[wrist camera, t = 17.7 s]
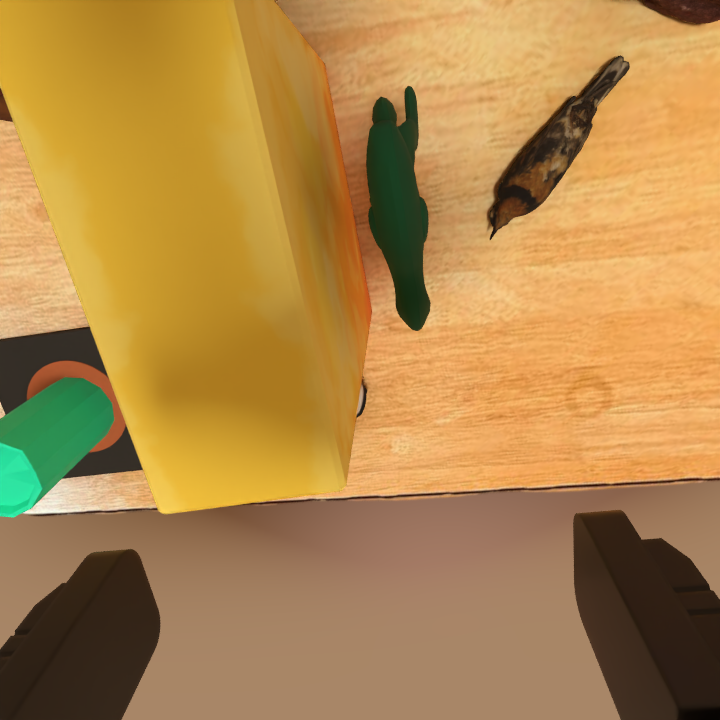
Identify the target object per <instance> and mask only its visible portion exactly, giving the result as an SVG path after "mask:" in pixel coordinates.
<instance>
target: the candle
mask: <svg viewBox="0 0 720 720" xmlns="http://www.w3.org/2000/svg"><path fill="white" fill-rule="evenodd" d="M113 422H114V414H113V407H112V403H111V401H110V400H109V398H108V397H107V396H106V394H105V393H104V392H103V390H102V389H101V388H100V387H98V386H96V385H95V384H93V383H91V382H89V381H87V380H86V379H84V378H70V377H64V378H62V379H60V380H59V381H57V382H55V383H53V384H51V385H50V386H48V387H47V388H45V389H44V390H42V391H41V392H39V393H38V394H36V395H35V396H33V397H32V398H30V399H29V400H27V401H26V402H24V403H23V404H21V405H20V406H18V407H17V408H16V409H14V410H13V411H11V412H10V413H8V414H7V415H5V416H4V417H2V418H1V419H0V516H4V517H15V516H17V515H19V514H21V513H23V512H25V511H27V510H29V509H31V508H32V507H33V506H34V505H35V504H36V503H37V502H38V501H39V500H40V499H41V498H42V497H43V496H44V495H45V494H46V493H47V492H49V491H50V490H51V489H52V488H53V487H54V486H55V485H56V484H57V483H58V482H59V481H60V480H61V479H62V478H63V477H64V476H65V475H66V474H67V473H68V472H69V471H70V470H71V469H72V468H73V467H74V466H75V465H76V464H77V463H78V462H79V461H80V460H81V459H82V458H83V457H84V456H85V455H86V454H87V453H88V452H89V451H90V450H91V449H92V448H94V447H95V446H96V445H97V444H98V443H99V442H100V441H101V440H102V439H103V438H104V437H105V436H106V435H107V434H108V432H109V430H110V428H111V426H112V424H113Z"/></svg>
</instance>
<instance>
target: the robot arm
mask: <svg viewBox="0 0 720 720" xmlns="http://www.w3.org/2000/svg"><path fill="white" fill-rule="evenodd" d="M573 528H574V530H573V531H574V586H575V595H576V601H577V605H578V609H579V613H580V617H581V620H582V623H583V625H584V628H585V630H586V633H587V636H588V638H589V640H590V643H591V645H592V648H593V650H594V653H595V656H596V658H597V661H598V663H599V666H600V668H601V671H602V673H603V676H604V678H605V681H606V683H607V686H608V688H609V691H610V693H611V696H612V698H613V701H614V703H615V706H616V708H617V711H618V714H619V716H620V719H621V720H720V599H719V598H718V597H717V595H716V594H715V592H714V591H711V590H710V587H709V584H708V583H707V581H706V580H705V579H704V578H703V576H702V575H701V573H700V572H699V570H698V569H697V568H696V566H695V565H694V563H693V562H692V561H691V559H690V558H688V557H687V556H685V555H684V554H682V553H681V552H680V551H678V550H677V549H676V548H674V547H673V546H671V545H670V544H668V543H667V542H666V541H664V540H663V539H662V538H659V539H647V540H641V538H640V536H639V535H638V533H637V532H636V530H635V528H634V527H633V525H632V524H631V522H630V521H629V519H628V518H627V516H626V514H625V513H624V512H623V511H621V510H612V511H601V512H590V513H578V514H577V513H576V514H575V516H574V522H573ZM159 633H160V615H159V610H158V608H157V605H156V602H155V599H154V596H153V593H152V590H151V587H150V584H149V582H148V579H147V576H146V573H145V570H144V567H143V564H142V561H141V559H140V556H139V555H138V553H137V552H136V551H134V550H132V549H128V550H117V551H104V552H94V553H91V554H89V555H88V556H87V557H86V558H85V559H84V560H83V562H82V563H81V564H80V566H79V567H78V568H77V570H76V571H75V572H74V574H73V575H72V576H71V577H70V579H69V580H68V581H67V583H62V584H61V585H60V586H58V587H57V588H56V589H55V590H53V591H52V592H51V593H50V594H48V596H46V597H45V598H44V599H42V600H41V601H40V602H39V603H37V604H36V605H35V606H34V607H33V609H32V610H31V611H30V612H29V614H28V615H27V616H26V618H25V619H24V620H23V621H22V623H21V624H20V625H19V626H18V628H17V629H16V630H15V635H14V636H10V638H9V639H8V640H7V642H6V643H5V644H4V646H3V647H2V648H1V649H0V720H121V719H122V717H123V715H124V713H125V711H126V709H127V707H128V705H129V703H130V700H131V699H132V696H133V694H134V692H135V690H136V688H137V686H138V684H139V682H140V680H141V678H142V676H143V674H144V671H145V669H146V667H147V665H148V663H149V661H150V659H151V657H152V654H153V653H154V650H155V648H156V646H157V643H158V639H159Z"/></svg>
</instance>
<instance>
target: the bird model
mask: <svg viewBox="0 0 720 720" xmlns="http://www.w3.org/2000/svg"><path fill="white" fill-rule="evenodd" d="M629 67H630V66H629V62H626V61H624V58H623V57H622V56H621V55H620V56H618V57H616V58H615V59H614V60H613V61H612V62H611V63H610V64H609V65H608V66H607V68H606V69H605V70H604V71H603V72H602V73H601V74H600V75H599V76H598V77H597V78H596V79H595V80H594V82H593V83H592V84H591V85H590V86H589V87H588V88H587V89H586V90H585V91H584V93H583V94H582V96H581V97H580V98H578V99H577V100H576V101H575V99H576V96H573V97H572V98H571V99H570V100H569V102H568V103H567V104H566V106H565V107H564V108H563V109H562V110H561V112H560V113H559V114H558V115H557V116H556V117H555V118H554V119H553V120H552V121H551V122H550V123H549V124H548V126H547V127H546V128H545V129H544V130H543V131H542V132H541V133H540V134H539V135H538V136H537V137H536V138H535V139H534V140H533V141H532V143H531V144H530V145H529V146H528V147H527V148H526V149H525V150H524V152H523V153H522V154H521V155H520V156H519V157H518V159H517V160H516V161H515V162H514V164H513V165H512V167H511V168H510V170H509V171H508V173H507V174H506V176H505V177H504V179H503V181H502V182H501V183H500V185H499V187H498V198H499V201H498V202H497V203H496V204H495V205H494V207H493V209H492V210H491V211H490V215H489V218H490V222H491V224H492V226H493V231H492V234H491V236H490V240H491V239H492V237H493V235H494V234H495V233H496V232H497V230H498V229H500V228H502V226H505V225H507V224H508V223H509V221H510V220H511V219H512V218H515V217H518V216H523V215H526V214H528V213H530V212H531V211H533V210H535V209H536V208H537V207H538V206H540V205H541V204H542V203H543V202H544V201H545V200H546V198H547V197H548V196H549V194H550V193H551V191H552V190H553V189H554V188H555V187H556V185H557V183H558V182H559V181H560V180H561V178H562V177H563V175H564V174H565V172H566V170H567V169H568V168H569V167H570V165H571V163H572V162H573V160H574V158H575V157H576V156H577V154H578V153H579V152H580V150H581V149H582V147H583V145H584V142H585V141H586V139H587V138H588V136H589V133H590V130H591V128H592V123H591V122H592V118H593V116H594V115H595V113H596V111H597V106H598V105H599V103H600V102H601V101H602V100H603V99H604V98H605V97H606V96H607V95H608V93H609V92H610V91H611V90H612V88H613V87H614V86H615V85H616V84H617V82H618V81H619V80H620V79H621V78H622V77H623V76H624V75H625V74H626V73H627V71H628V70H629ZM574 101H575V102H574ZM573 102H574V103H573Z"/></svg>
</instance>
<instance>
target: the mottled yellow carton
mask: <svg viewBox="0 0 720 720" xmlns="http://www.w3.org/2000/svg"><path fill="white" fill-rule="evenodd" d="M0 88H1V90H2V93H3V96H4V98H5V101H6V104H7V106H8V109H9V112H10V114H11V117H12V120H13V122H14V125H15V128H16V130H17V133H18V136H19V139H20V141H21V144H22V147H23V149H24V152H25V155H26V157H27V160H28V163H29V165H30V168H31V171H32V173H33V176H34V179H35V181H36V184H37V187H38V189H39V192H40V195H41V198H42V200H43V203H44V206H45V208H46V211H47V214H48V216H49V219H50V222H51V224H52V227H53V230H54V232H55V235H56V238H57V240H58V243H59V246H60V248H61V251H62V254H63V257H64V259H65V262H66V265H67V267H68V270H69V273H70V275H71V278H72V281H73V283H74V286H75V289H76V291H77V294H78V297H79V299H80V302H81V305H82V307H83V310H84V313H85V316H86V318H87V321H88V324H89V326H90V329H91V332H92V334H93V337H94V340H95V342H96V345H97V348H98V350H99V353H100V356H101V358H102V361H103V364H104V366H105V369H106V372H107V374H108V377H109V380H110V383H111V385H112V388H113V391H114V393H115V396H116V399H117V401H118V404H119V407H120V409H121V412H122V415H123V417H124V420H125V423H126V425H127V428H128V431H129V433H130V436H131V439H132V442H133V444H134V447H135V450H136V452H137V455H138V458H139V460H140V463H141V466H142V468H143V471H144V474H145V476H146V479H147V482H148V484H149V487H150V490H151V492H152V495H153V498H154V501H155V503H156V506H157V509H158V511H160V512H161V513H163V514H171V513H178V512H186V511H194V510H201V509H209V508H217V507H224V506H232V505H239V504H247V503H255V502H262V501H270V500H278V499H285V498H293V497H300V496H308V495H316V494H323V493H331V492H338V491H342V490H343V489H344V487H345V486H346V483H347V476H348V470H349V463H350V456H351V449H352V443H353V436H354V429H355V422H356V415H357V409H358V402H359V395H360V388H361V382H362V375H363V368H364V361H365V355H366V348H367V341H368V334H369V327H370V321H371V314H372V309H371V304H370V299H369V293H368V288H367V283H366V278H365V272H364V267H363V262H362V257H361V251H360V246H359V241H358V236H357V230H356V225H355V220H354V215H353V209H352V204H351V199H350V194H349V189H348V183H347V178H346V173H345V168H344V162H343V157H342V152H341V147H340V141H339V136H338V131H337V126H336V120H335V115H334V110H333V105H332V99H331V94H330V89H329V84H328V78H327V73H326V68H325V64H324V62H323V61H322V60H321V59H320V57H319V56H318V55H317V54H316V52H315V51H314V50H313V49H312V47H311V46H310V45H309V44H308V42H307V41H306V40H305V39H304V37H303V36H302V35H301V34H300V32H299V31H298V30H297V29H296V27H295V26H294V25H293V24H292V22H291V21H290V20H289V19H288V17H287V16H286V15H285V13H284V12H283V11H282V10H281V8H280V7H279V6H278V5H277V3H276V2H275V1H274V0H0ZM405 112H406V121H405V122H404V123H402V125H401V126H398V127H397V126H396V121H397V114H396V111H395V109H394V107H393V105H392V103H391V102H390V101H389V100H388V99H387V98H383V97H380V98H379V99H378V100H377V101H376V103H375V105H374V107H373V116H372V121H373V124H374V125H373V126H372V127H371V129H370V132H369V138H368V145H367V160H366V166H367V180H368V188H369V194H370V202H371V207H370V209H369V214H368V218H369V225H370V229H371V232H372V234H373V237H374V239H375V241H376V243H377V245H378V246H379V248H380V249H381V250H382V252H383V255H384V257H385V259H386V261H387V264H388V266H389V269H390V272H391V275H392V278H393V282H394V287H395V294H396V309H397V311H398V314H399V316H400V317H401V318H402V319H403V321H404V322H405V323H406V324H407V325H408V326H409V327H410V328H411V329H412V330H415V331H418V330H420V329H422V327H423V325H424V323H425V321H426V319H427V316H428V314H429V312H430V300H429V297H428V294H427V291H426V288H425V284H424V277H423V249H424V242H425V241H426V238H427V233H428V210H427V206H426V203H425V201H424V199H423V198H422V197H420V196H419V192H418V188H417V183H416V177H415V172H414V162H415V150H416V149H417V146H418V137H419V133H418V112H417V101H416V95H415V92H414V90H413V88H412V87H410V86H408V87H407V88H406V90H405Z"/></svg>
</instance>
